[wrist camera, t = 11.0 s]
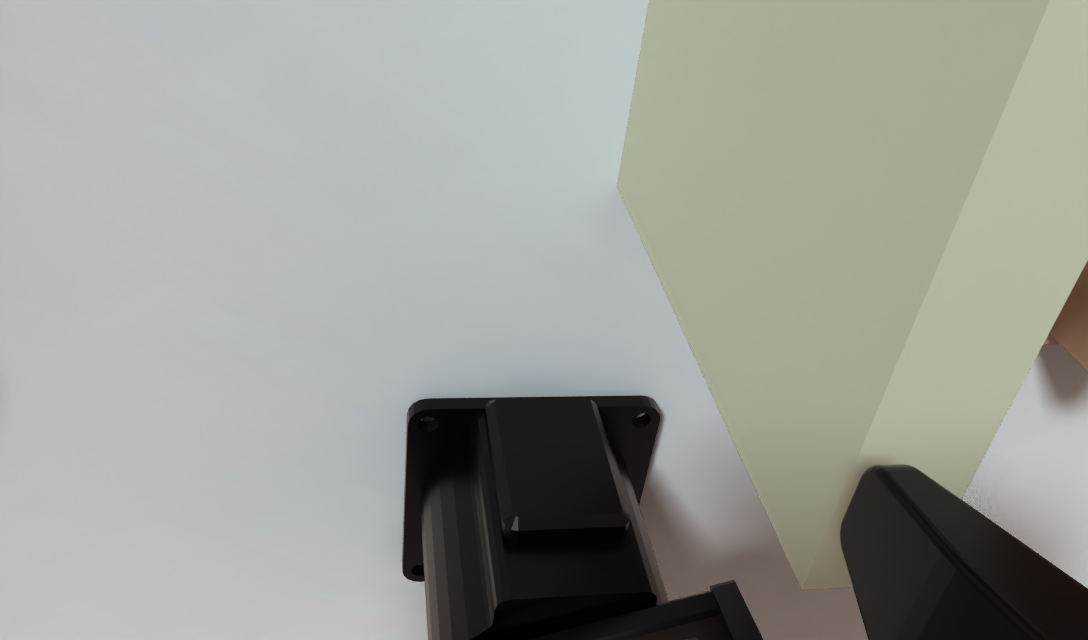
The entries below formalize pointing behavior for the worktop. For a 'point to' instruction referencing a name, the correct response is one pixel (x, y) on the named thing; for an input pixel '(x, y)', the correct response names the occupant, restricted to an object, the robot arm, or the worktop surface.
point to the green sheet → (860, 228)
